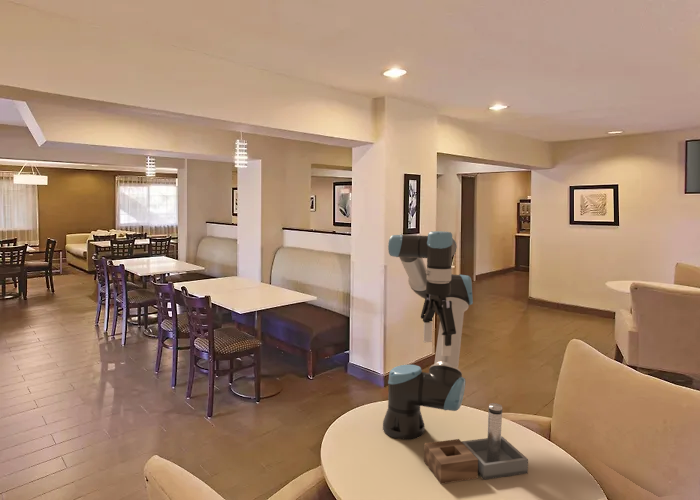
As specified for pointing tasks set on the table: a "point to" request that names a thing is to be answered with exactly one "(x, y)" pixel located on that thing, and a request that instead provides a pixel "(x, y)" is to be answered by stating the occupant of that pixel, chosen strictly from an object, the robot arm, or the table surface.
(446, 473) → the wooden square socket block
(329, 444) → the table surface
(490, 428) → the pin
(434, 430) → the table surface
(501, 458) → the tray
